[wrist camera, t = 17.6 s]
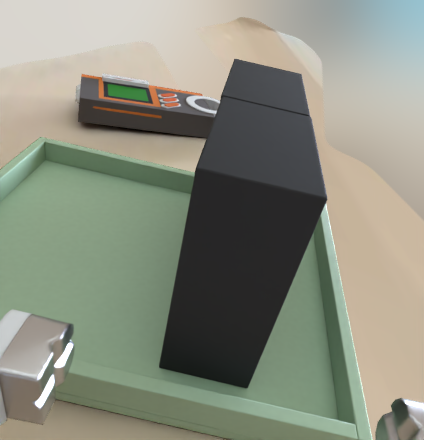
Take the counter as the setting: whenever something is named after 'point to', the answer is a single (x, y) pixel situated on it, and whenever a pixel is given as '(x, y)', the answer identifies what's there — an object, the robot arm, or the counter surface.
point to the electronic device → (144, 106)
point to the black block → (242, 240)
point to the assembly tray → (164, 301)
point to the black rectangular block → (266, 87)
